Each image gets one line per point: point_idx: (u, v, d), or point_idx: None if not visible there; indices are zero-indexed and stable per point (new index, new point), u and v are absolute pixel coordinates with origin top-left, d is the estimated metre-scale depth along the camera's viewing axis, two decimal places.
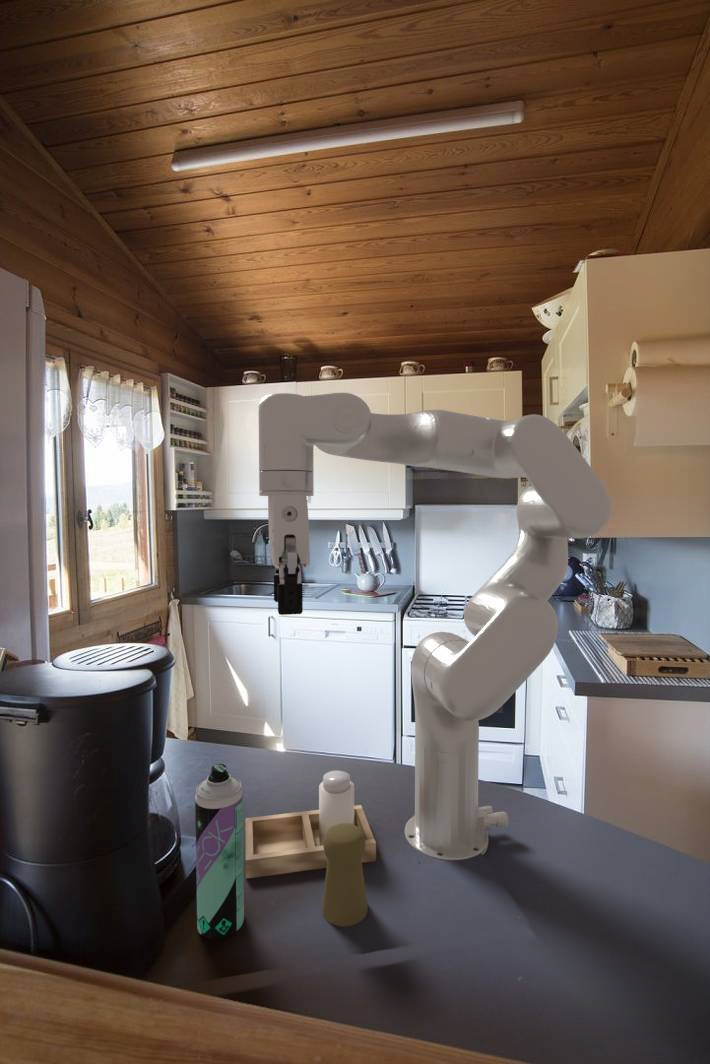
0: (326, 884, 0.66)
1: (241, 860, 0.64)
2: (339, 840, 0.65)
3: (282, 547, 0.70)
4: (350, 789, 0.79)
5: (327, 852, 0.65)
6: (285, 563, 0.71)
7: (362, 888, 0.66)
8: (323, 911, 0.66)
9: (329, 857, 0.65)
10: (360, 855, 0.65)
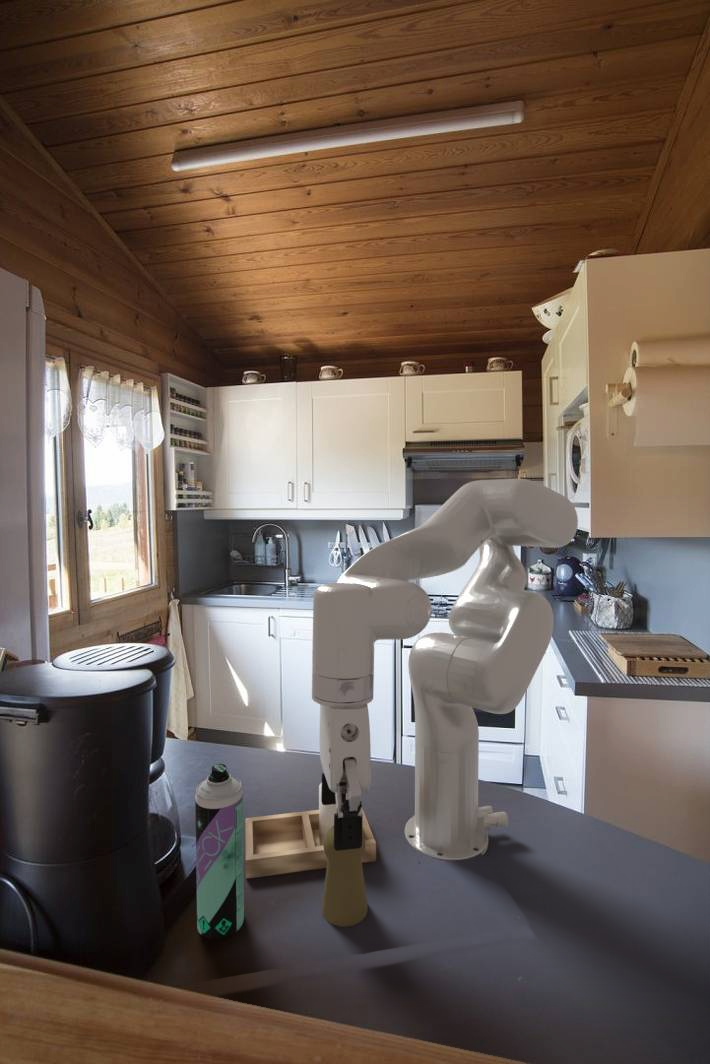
0: (326, 884, 0.66)
1: (241, 860, 0.64)
2: None
3: (340, 772, 0.61)
4: None
5: (327, 852, 0.65)
6: (343, 789, 0.61)
7: (362, 888, 0.66)
8: (323, 911, 0.66)
9: (329, 857, 0.65)
10: (360, 855, 0.65)
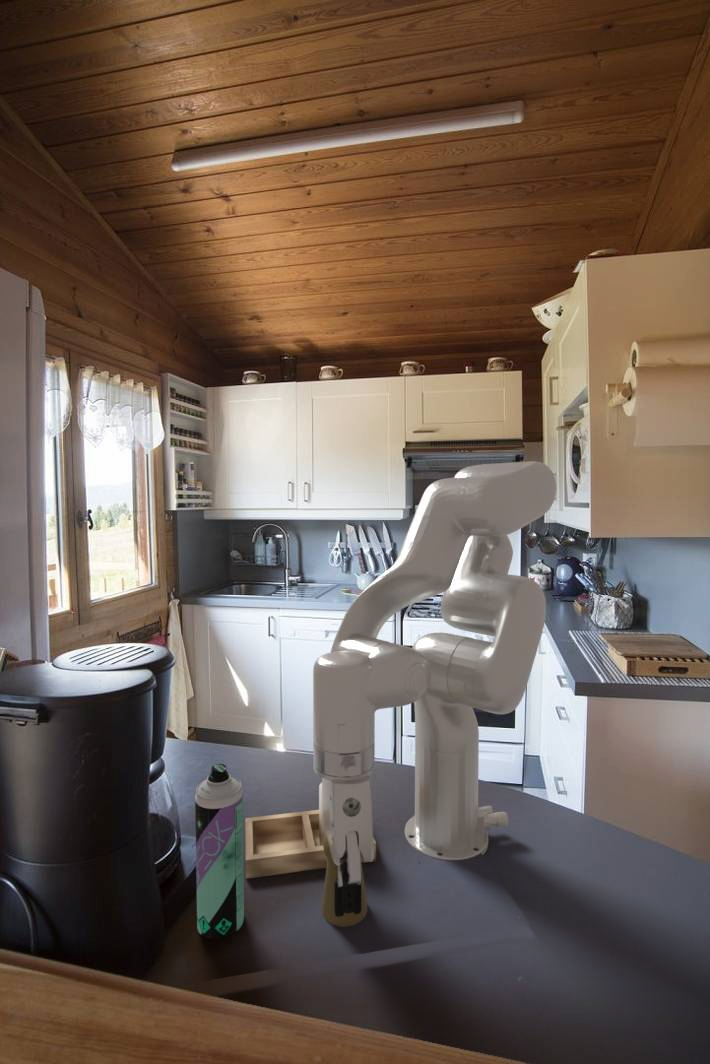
0: (326, 884, 0.66)
1: (241, 860, 0.64)
2: None
3: (343, 846, 0.61)
4: None
5: (327, 852, 0.65)
6: (344, 862, 0.63)
7: (362, 888, 0.66)
8: (323, 911, 0.66)
9: (329, 857, 0.65)
10: (360, 855, 0.65)
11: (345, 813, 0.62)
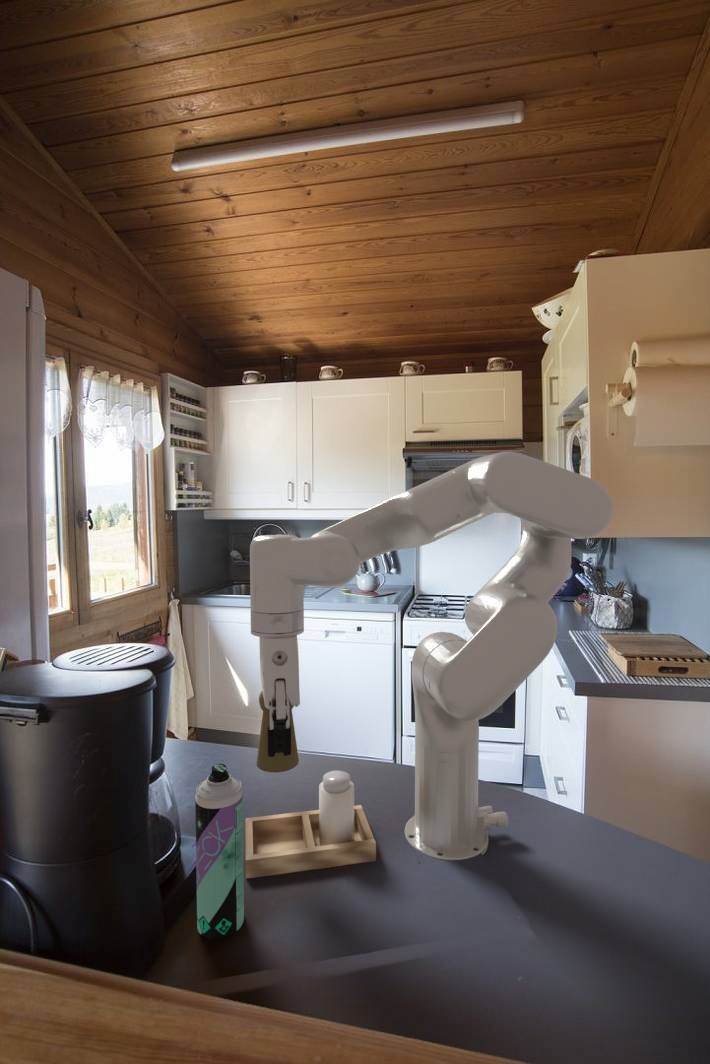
0: (261, 732, 0.76)
1: (241, 860, 0.64)
2: None
3: (272, 691, 0.72)
4: (350, 789, 0.79)
5: (261, 703, 0.76)
6: (275, 709, 0.74)
7: (291, 735, 0.76)
8: (258, 755, 0.76)
9: (262, 707, 0.75)
10: None
11: (274, 663, 0.72)
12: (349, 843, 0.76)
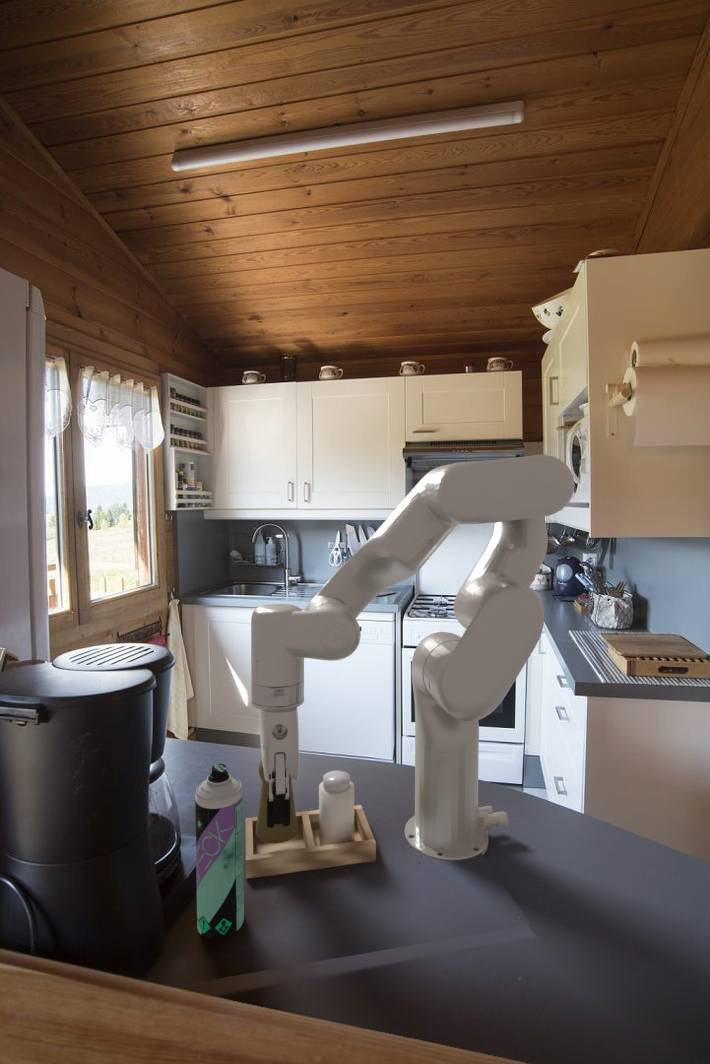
0: (260, 802, 0.77)
1: (241, 860, 0.64)
2: None
3: (272, 765, 0.72)
4: (350, 789, 0.79)
5: (260, 773, 0.76)
6: (274, 780, 0.74)
7: (290, 805, 0.77)
8: (257, 825, 0.77)
9: (262, 777, 0.76)
10: (289, 776, 0.76)
11: (274, 737, 0.73)
12: (349, 843, 0.76)
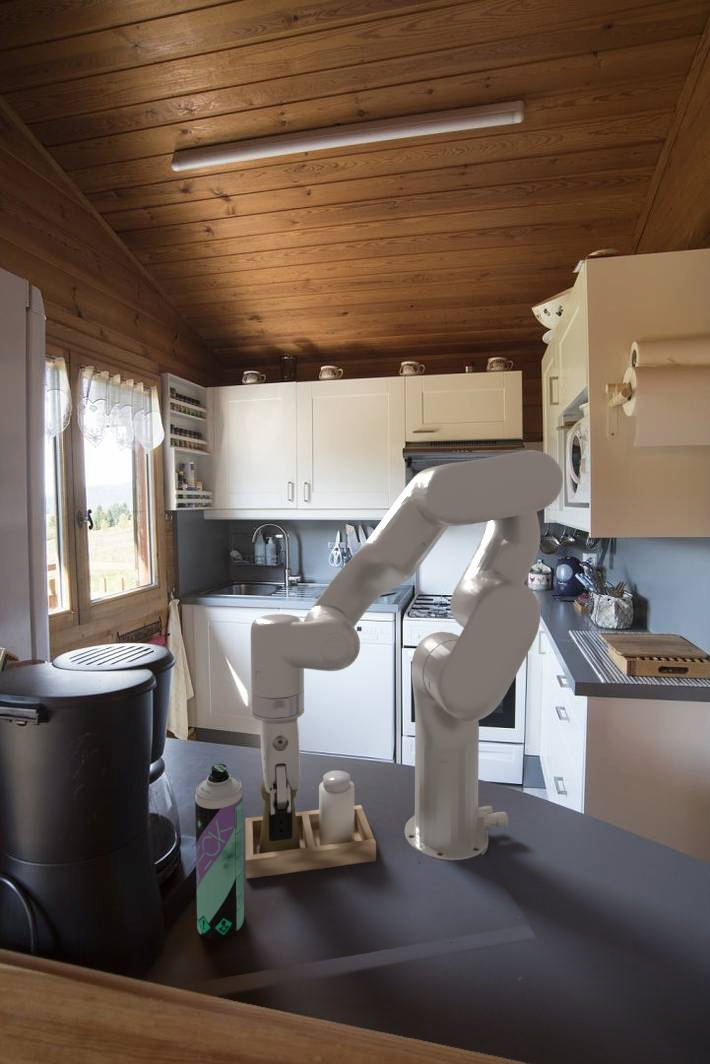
0: (263, 822, 0.77)
1: (241, 860, 0.64)
2: (273, 784, 0.76)
3: (273, 776, 0.72)
4: (350, 789, 0.79)
5: (263, 794, 0.76)
6: (276, 791, 0.74)
7: (293, 825, 0.77)
8: (260, 845, 0.77)
9: (265, 798, 0.76)
10: (291, 796, 0.76)
11: (275, 748, 0.73)
12: (349, 843, 0.76)
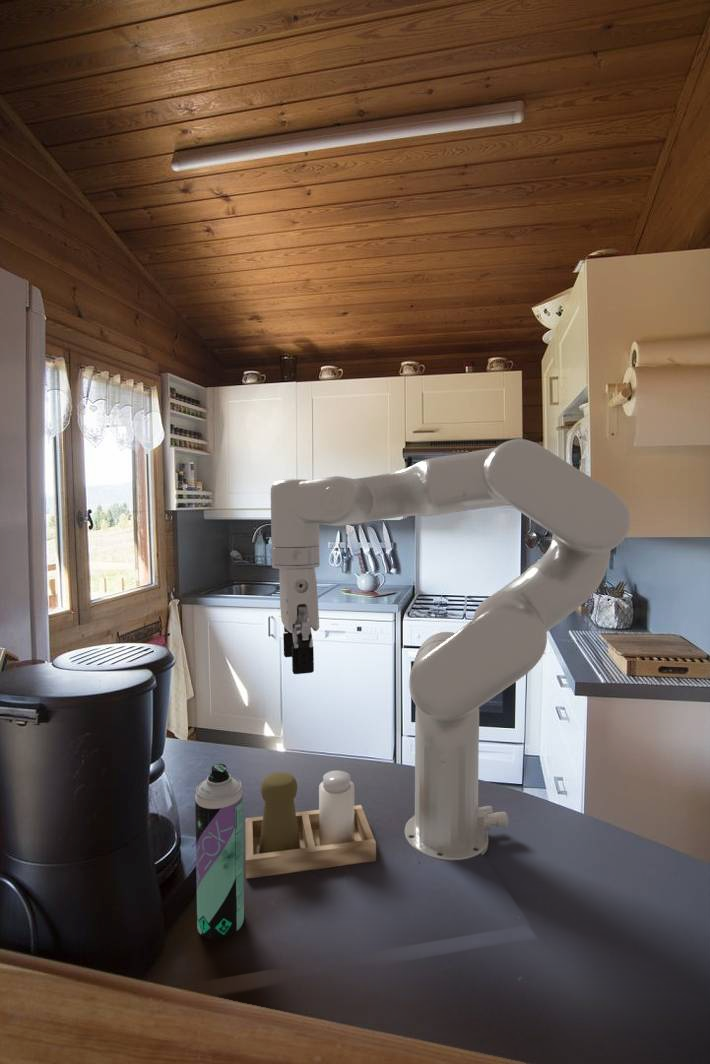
0: (263, 822, 0.77)
1: (241, 860, 0.64)
2: (274, 784, 0.76)
3: (295, 615, 0.81)
4: (350, 789, 0.79)
5: (263, 794, 0.76)
6: (298, 629, 0.81)
7: (293, 825, 0.77)
8: (260, 845, 0.77)
9: (265, 798, 0.76)
10: (291, 797, 0.76)
11: (296, 591, 0.81)
12: (349, 843, 0.76)
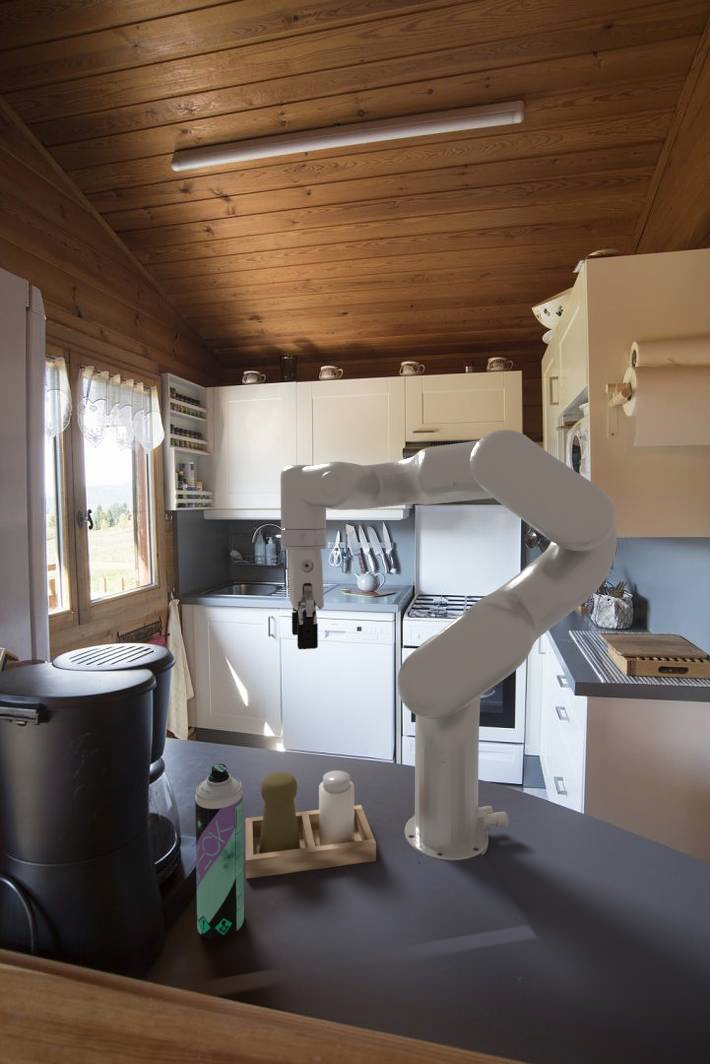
0: (263, 822, 0.77)
1: (241, 860, 0.64)
2: (274, 784, 0.76)
3: (301, 593, 0.85)
4: (350, 789, 0.79)
5: (263, 794, 0.76)
6: (303, 606, 0.86)
7: (293, 825, 0.77)
8: (260, 845, 0.77)
9: (265, 798, 0.76)
10: (291, 797, 0.76)
11: (302, 570, 0.86)
12: (349, 843, 0.76)
